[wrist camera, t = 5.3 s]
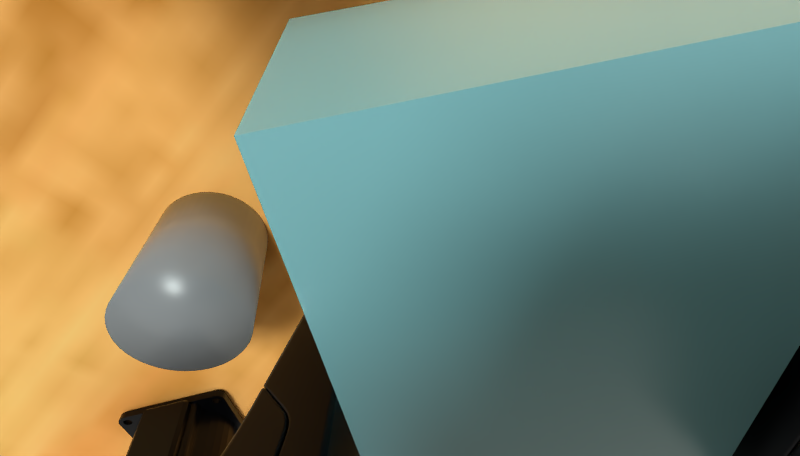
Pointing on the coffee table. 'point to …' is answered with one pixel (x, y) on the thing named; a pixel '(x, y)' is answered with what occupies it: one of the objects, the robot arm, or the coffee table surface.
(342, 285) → the teal long brick
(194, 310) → the grey cylinder
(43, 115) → the coffee table surface
